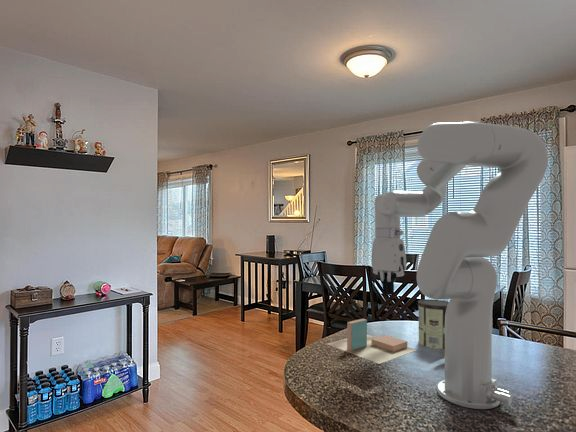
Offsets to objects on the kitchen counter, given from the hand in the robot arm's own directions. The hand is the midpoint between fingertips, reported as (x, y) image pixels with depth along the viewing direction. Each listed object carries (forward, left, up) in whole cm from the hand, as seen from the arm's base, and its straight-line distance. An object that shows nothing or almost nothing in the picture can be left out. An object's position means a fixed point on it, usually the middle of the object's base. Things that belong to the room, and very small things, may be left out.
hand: (388, 294), depth 113 cm
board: (+3, +5, -17) cm, 18 cm away
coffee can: (-7, -14, -17) cm, 24 cm away
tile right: (+4, 0, -15) cm, 15 cm away
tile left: (+5, +9, -16) cm, 19 cm away
